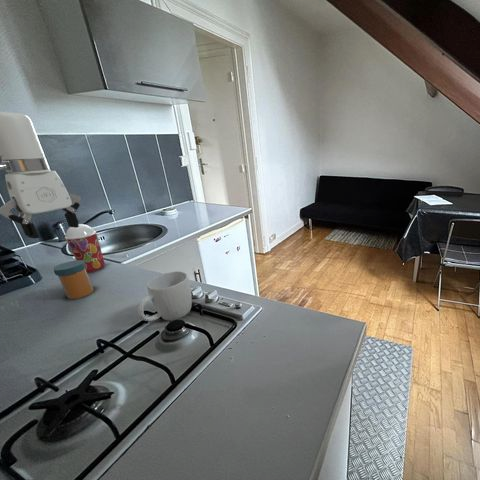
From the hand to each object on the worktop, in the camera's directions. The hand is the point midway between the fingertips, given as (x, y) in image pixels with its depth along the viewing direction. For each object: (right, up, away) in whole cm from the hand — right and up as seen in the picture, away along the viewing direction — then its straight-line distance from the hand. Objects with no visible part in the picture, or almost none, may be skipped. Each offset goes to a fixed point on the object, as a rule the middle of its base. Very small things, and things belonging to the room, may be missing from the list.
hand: (55, 231), depth 72 cm
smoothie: (-9, -13, +23) cm, 28 cm away
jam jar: (+1, -19, +7) cm, 20 cm away
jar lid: (0, -10, +4) cm, 11 cm away
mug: (+35, -22, -5) cm, 41 cm away
